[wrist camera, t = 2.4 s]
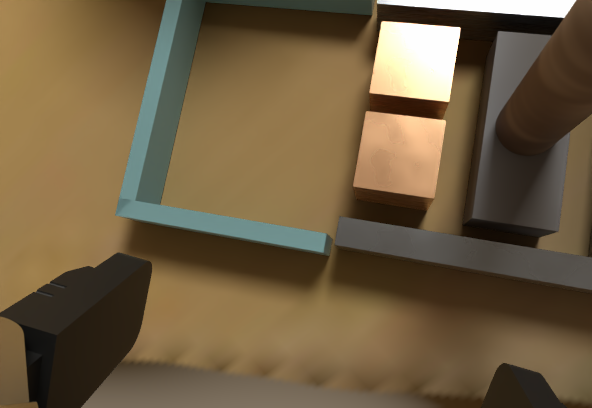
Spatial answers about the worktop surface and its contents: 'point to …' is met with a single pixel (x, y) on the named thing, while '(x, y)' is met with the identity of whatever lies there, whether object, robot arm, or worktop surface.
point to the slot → (451, 248)
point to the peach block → (399, 160)
